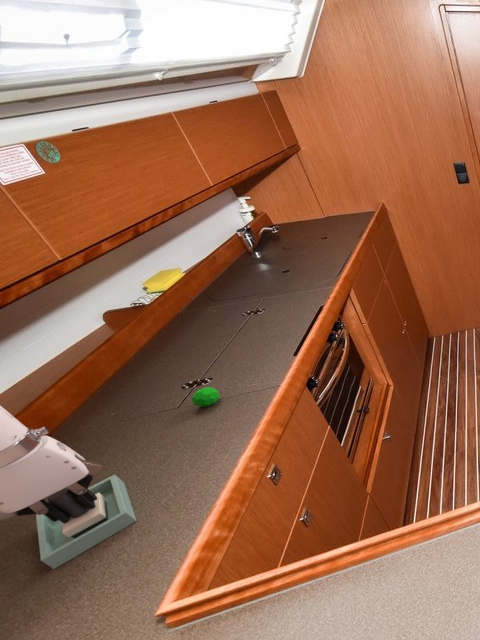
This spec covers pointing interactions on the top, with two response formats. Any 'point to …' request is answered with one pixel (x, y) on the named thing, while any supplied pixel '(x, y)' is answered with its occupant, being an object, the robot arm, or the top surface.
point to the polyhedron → (205, 397)
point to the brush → (79, 512)
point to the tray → (64, 548)
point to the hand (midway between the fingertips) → (79, 510)
